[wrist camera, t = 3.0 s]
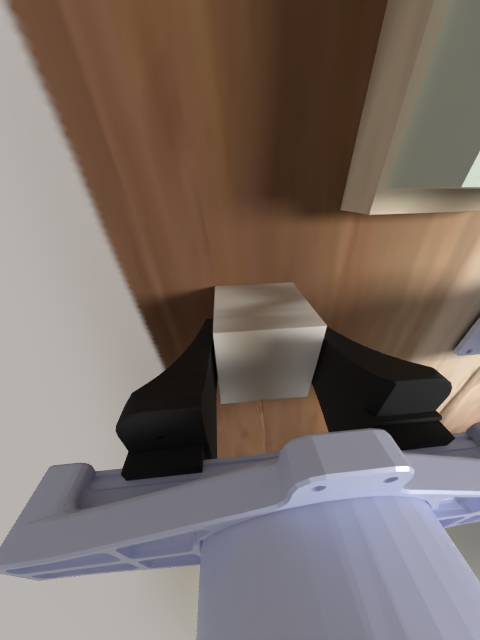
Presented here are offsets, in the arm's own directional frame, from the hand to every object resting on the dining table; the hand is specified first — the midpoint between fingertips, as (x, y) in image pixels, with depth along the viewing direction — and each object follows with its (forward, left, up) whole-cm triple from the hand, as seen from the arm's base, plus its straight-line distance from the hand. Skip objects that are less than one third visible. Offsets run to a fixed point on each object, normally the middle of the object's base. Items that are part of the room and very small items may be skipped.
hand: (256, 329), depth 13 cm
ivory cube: (0, 0, -2) cm, 2 cm away
